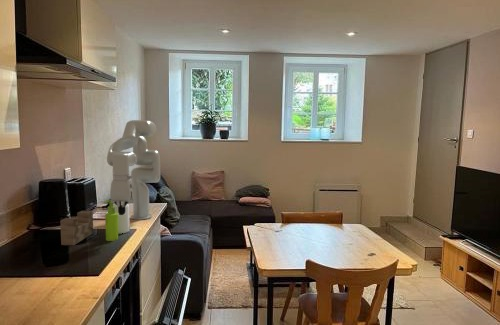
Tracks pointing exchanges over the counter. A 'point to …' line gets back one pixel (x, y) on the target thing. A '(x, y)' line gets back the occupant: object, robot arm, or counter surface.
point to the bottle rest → (76, 228)
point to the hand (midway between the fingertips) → (121, 214)
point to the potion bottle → (123, 220)
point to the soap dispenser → (111, 223)
